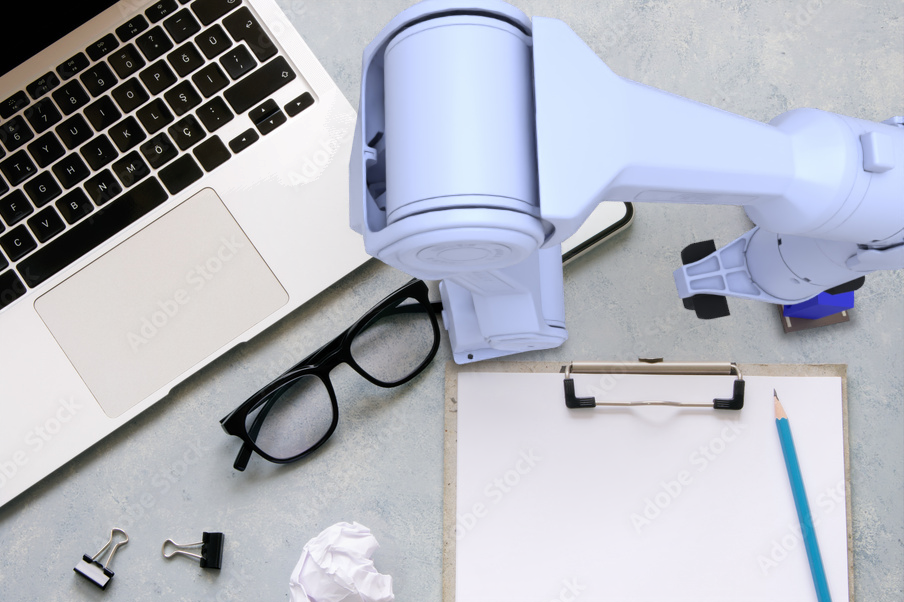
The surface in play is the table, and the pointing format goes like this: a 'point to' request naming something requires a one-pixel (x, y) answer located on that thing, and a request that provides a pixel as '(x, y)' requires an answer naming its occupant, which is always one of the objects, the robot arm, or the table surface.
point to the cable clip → (820, 306)
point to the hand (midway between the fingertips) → (732, 287)
